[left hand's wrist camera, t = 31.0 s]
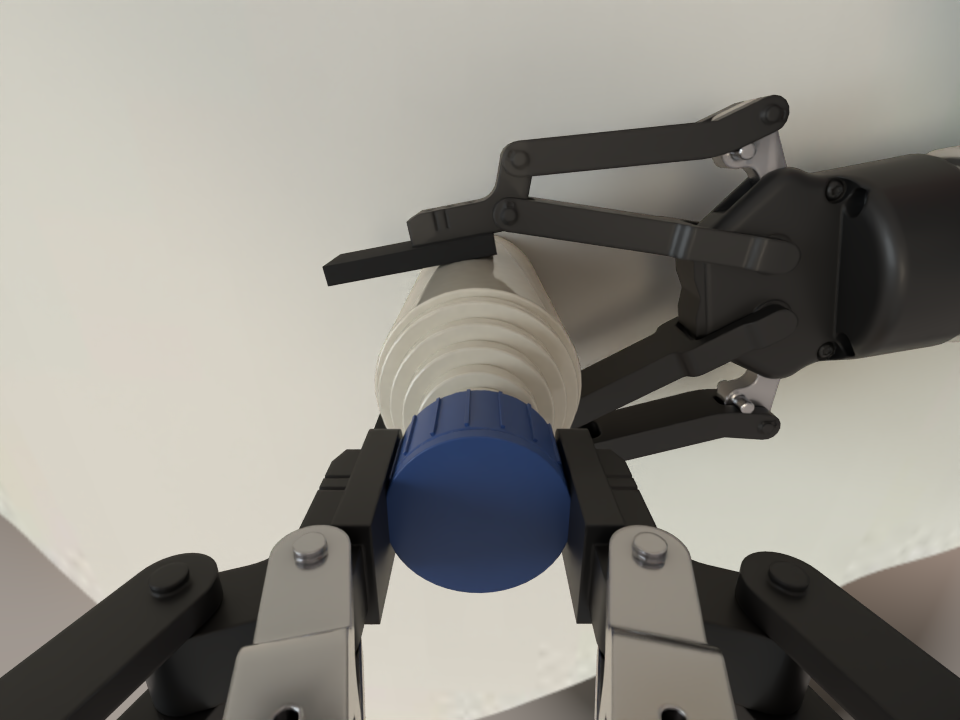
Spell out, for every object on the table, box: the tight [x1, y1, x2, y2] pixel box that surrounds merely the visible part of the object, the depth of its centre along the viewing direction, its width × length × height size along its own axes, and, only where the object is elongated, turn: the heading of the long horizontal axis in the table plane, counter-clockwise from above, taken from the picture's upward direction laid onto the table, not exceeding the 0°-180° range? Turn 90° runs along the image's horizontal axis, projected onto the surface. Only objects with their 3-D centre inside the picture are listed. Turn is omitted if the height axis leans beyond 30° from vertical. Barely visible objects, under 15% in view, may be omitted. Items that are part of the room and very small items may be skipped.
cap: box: [386, 389, 571, 593], centre depth 11 cm, size 4×4×2 cm
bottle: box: [375, 235, 582, 437], centre depth 19 cm, size 6×6×18 cm
